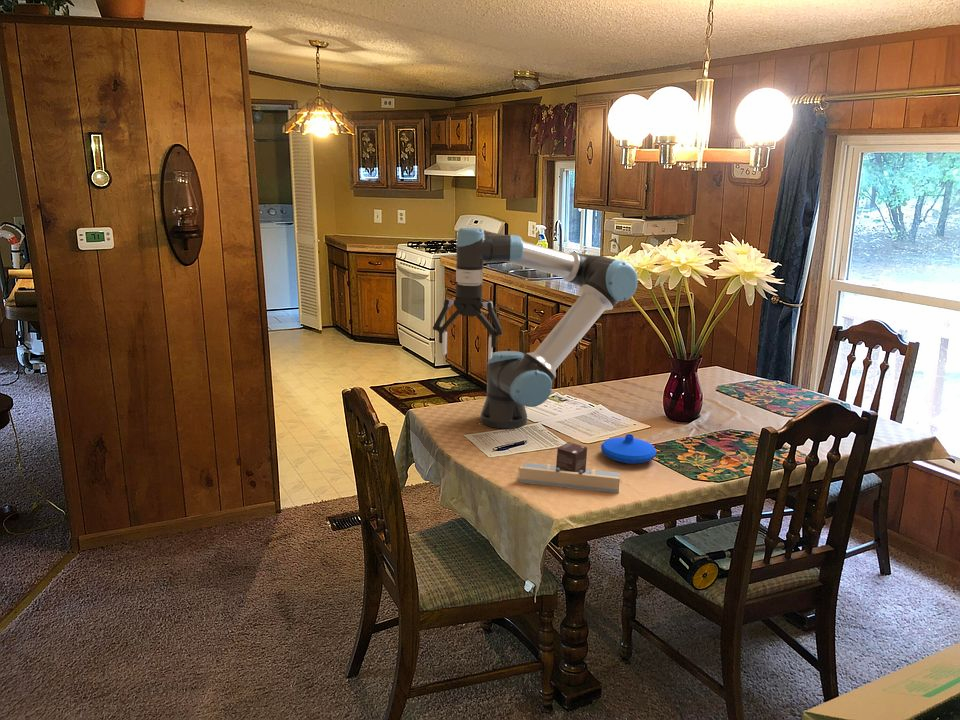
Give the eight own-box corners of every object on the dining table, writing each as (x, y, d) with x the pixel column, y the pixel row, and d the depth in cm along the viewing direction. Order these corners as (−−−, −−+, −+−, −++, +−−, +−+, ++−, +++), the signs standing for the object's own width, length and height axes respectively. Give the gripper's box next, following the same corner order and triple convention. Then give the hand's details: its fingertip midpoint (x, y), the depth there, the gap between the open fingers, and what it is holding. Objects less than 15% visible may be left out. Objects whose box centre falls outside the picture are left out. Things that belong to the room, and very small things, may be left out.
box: (567, 466, 207) (568, 441, 205) (586, 472, 203) (588, 447, 201) (555, 473, 202) (556, 447, 200) (574, 479, 198) (576, 453, 196)
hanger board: (524, 466, 208) (525, 450, 207) (619, 476, 204) (620, 459, 202) (518, 482, 198) (519, 465, 197) (618, 493, 193) (620, 476, 192)
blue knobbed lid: (603, 467, 209) (604, 444, 208) (597, 447, 225) (599, 424, 223) (660, 470, 209) (662, 446, 207) (650, 449, 224) (652, 427, 222)
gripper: (422, 282, 211) (422, 355, 216) (510, 288, 206) (507, 362, 212) (429, 278, 218) (429, 349, 223) (514, 284, 213) (511, 356, 219)
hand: (467, 356), depth 218 cm, fingers open, 13 cm apart
